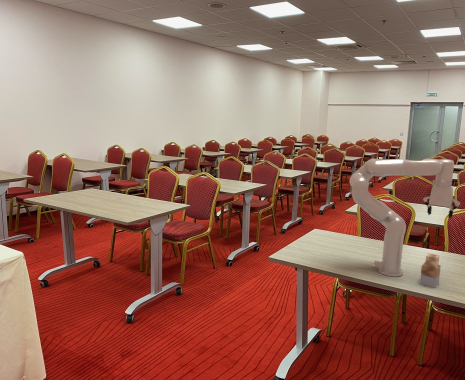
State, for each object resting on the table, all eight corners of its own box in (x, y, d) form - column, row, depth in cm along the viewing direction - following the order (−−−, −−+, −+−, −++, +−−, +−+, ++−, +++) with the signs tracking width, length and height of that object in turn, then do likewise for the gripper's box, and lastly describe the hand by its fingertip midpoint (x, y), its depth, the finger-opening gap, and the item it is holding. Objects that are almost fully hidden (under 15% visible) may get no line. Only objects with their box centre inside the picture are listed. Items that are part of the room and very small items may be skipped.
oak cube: (425, 265, 196) (426, 255, 195) (427, 262, 200) (428, 253, 199) (436, 267, 193) (437, 258, 192) (438, 264, 197) (439, 255, 196)
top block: (420, 274, 197) (421, 265, 196) (424, 270, 202) (425, 261, 201) (435, 278, 193) (437, 268, 192) (439, 274, 198) (440, 265, 197)
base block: (419, 283, 198) (421, 274, 197) (423, 279, 203) (424, 270, 202) (435, 288, 194) (436, 278, 193) (438, 283, 199) (439, 274, 198)
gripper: (423, 182, 204) (419, 214, 207) (460, 186, 192) (456, 220, 196) (427, 180, 209) (423, 212, 212) (464, 184, 198) (459, 217, 201)
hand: (439, 216), depth 204 cm, fingers open, 9 cm apart
